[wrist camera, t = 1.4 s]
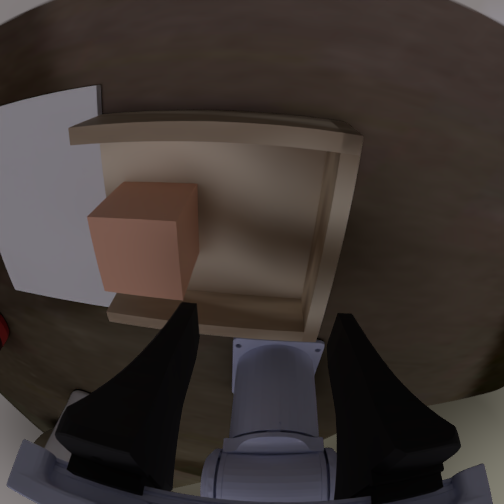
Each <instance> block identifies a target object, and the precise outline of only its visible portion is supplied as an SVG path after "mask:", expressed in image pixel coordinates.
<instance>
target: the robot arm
mask: <svg viewBox="0 0 504 504" xmlns="http://www.w3.org/2000/svg"><path fill="white" fill-rule="evenodd" d="M199 337H200V335H199V324H198V311H197V303H189V302H182V303H180V304H179V306H178V307H177V309H176V310H175V312H174V313H173V315H172V316H171V317H170V319H169V320H168V321H167V323H166V324H165V325H164V327H163V328H162V329H161V330H160V331H159V333H158V334H157V335H156V336H155V338H154V339H153V340H152V341H151V342H150V343H149V344H148V345H147V347H146V348H145V349H144V350H143V351H142V352H141V353H140V354H139V355H138V356H137V357H136V358H135V359H134V360H133V361H132V362H131V363H130V364H129V365H128V366H127V367H125V368H124V369H123V370H122V371H121V372H119V373H118V374H117V375H116V376H115V377H113V378H112V379H111V380H109V381H108V382H107V383H105V384H104V385H102V386H101V387H99V388H98V389H97V390H95V391H94V392H92V393H91V394H89V395H87V396H86V397H84V398H82V399H80V400H78V401H77V402H75V403H73V404H71V405H69V406H67V407H66V409H65V411H64V413H63V414H62V417H61V419H60V421H59V424H58V426H57V429H56V432H55V437H56V439H57V440H58V441H59V443H60V444H62V445H63V446H64V447H65V448H66V449H67V450H68V451H69V452H70V453H71V457H70V460H69V462H66V461H64V460H61V459H59V458H56V456H55V455H54V454H53V453H51V452H50V451H48V450H47V449H45V448H43V447H41V446H38V445H36V444H34V443H32V442H30V441H28V440H26V439H24V440H23V441H22V444H21V447H20V449H19V451H18V454H17V457H16V459H15V462H14V465H13V467H12V471H11V473H10V476H9V479H8V482H7V487H9V488H10V489H12V490H14V491H15V492H17V493H19V494H21V495H22V496H24V497H26V498H28V499H30V500H31V501H33V502H35V503H37V504H493V502H492V497H491V492H490V488H489V483H488V479H487V475H486V470H485V466H484V464H479V465H477V466H474V467H471V468H468V469H466V470H463V471H461V472H459V473H457V474H456V475H454V476H453V477H452V478H449V479H446V480H442V477H441V472H442V471H443V470H444V467H443V462H444V461H446V460H447V459H449V458H450V457H451V456H453V455H454V454H455V453H456V452H457V451H458V450H459V449H460V447H461V444H460V440H459V436H458V433H457V430H456V427H455V426H454V425H452V424H451V423H449V422H448V421H446V420H445V419H443V418H441V417H440V416H438V415H437V414H436V413H435V412H433V411H432V410H431V409H429V408H428V407H427V406H426V405H425V404H423V403H422V402H421V401H420V400H419V399H418V398H417V397H416V396H414V395H413V394H412V393H411V392H410V391H409V390H408V389H407V388H406V387H405V386H404V385H403V384H402V383H401V381H400V380H399V379H398V378H397V377H396V376H395V375H394V374H393V372H392V371H391V370H390V369H389V367H388V366H387V365H386V364H385V362H384V361H383V360H382V358H381V357H380V356H379V354H378V353H377V351H376V350H375V349H374V347H373V346H372V344H371V343H370V341H369V340H368V338H367V337H366V335H365V334H364V332H363V331H362V329H361V327H360V326H359V324H358V323H357V321H356V320H355V318H354V316H353V315H352V314H345V313H338V314H337V317H336V320H335V323H334V326H333V329H332V332H331V335H330V338H329V341H328V344H327V357H328V369H329V376H330V382H331V387H332V393H333V399H334V406H335V413H336V427H337V453H336V452H335V451H334V450H333V449H332V448H324V445H323V437H319V431H318V416H317V403H316V391H315V379H314V375H315V372H316V369H317V367H318V364H319V361H320V358H321V355H322V352H323V350H324V346H325V345H324V342H323V341H321V340H316V342H298V341H279V340H263V339H249V338H237V337H234V339H233V370H232V393H234V396H233V406H232V415H231V425H230V434H229V438H224V443H223V449H215V450H214V451H213V452H212V453H211V454H210V455H209V456H208V457H207V458H206V460H205V463H204V467H203V471H202V477H201V497H200V496H194V495H187V494H181V493H176V492H170V491H171V490H172V488H173V475H174V464H175V455H176V447H177V439H178V432H179V425H180V419H181V413H182V407H183V403H184V399H185V396H186V392H187V389H188V385H189V382H190V378H191V375H192V371H193V367H194V364H195V360H196V356H197V350H198V344H199Z"/></svg>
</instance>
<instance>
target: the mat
mask: <svg viewBox="0 0 504 504" xmlns="http://www.w3.org/2000/svg"><path fill="white" fill-rule="evenodd" d="M101 114H102V102H101V85H95V86H88V87H82V88H76V89H70V90H65V91H60V92H55V93H50V94H46V95H41V96H37V97H33V98H29V99H25V100H21V101H17V102H13V103H10V104H6V105H3V106H0V253H1V255H2V258H3V261H4V263H5V266H6V269H7V271H8V274H9V276H10V278H11V281H12V283H13V286H14V288H15V290H20V291H24V292H29V293H34V294H39V295H44V296H49V297H54V298H59V299H65V300H70V301H76V302H82V303H87V304H93V305H100V306H106V307H109V306H110V304H111V302H112V300H113V299H114V297H115V295H116V293H115V292H108V291H105V290H104V286H103V283H102V279H101V275H100V272H99V268H98V264H97V260H96V256H95V252H94V247H93V243H92V239H91V234H90V230H89V225H88V220H87V216H88V215H89V214H90V213H91V212H92V211H93V210H94V209H95V208H96V207H97V206H98V205H99V204H100V203H101V202H102V201H103V200H104V199H106V193H105V185H104V178H103V170H102V161H101V151H100V143H96V144H81V145H70V140H69V130H68V128H69V127H72V126H74V125H76V124H79V123H81V122H84V121H86V120H89V119H91V118H94V117H96V116H99V115H101Z"/></svg>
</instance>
